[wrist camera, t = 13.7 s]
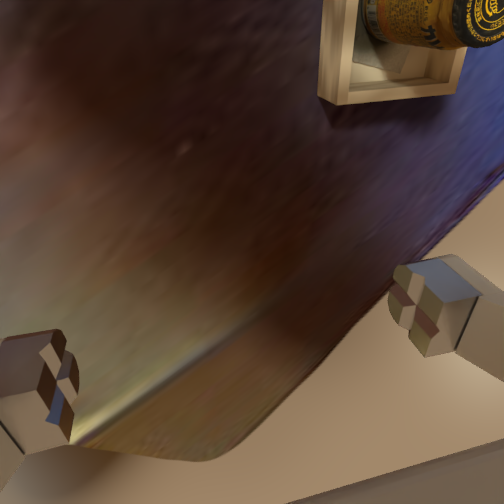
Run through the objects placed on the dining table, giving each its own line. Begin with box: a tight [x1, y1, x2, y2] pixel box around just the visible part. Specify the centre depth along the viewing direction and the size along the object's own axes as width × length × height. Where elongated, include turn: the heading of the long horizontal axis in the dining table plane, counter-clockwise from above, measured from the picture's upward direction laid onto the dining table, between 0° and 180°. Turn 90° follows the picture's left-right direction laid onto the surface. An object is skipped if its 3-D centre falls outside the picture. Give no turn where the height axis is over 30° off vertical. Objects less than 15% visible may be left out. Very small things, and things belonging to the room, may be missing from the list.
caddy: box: [317, 0, 467, 105], centre depth 31 cm, size 13×12×4 cm
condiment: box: [352, 0, 504, 74], centre depth 27 cm, size 7×8×12 cm
